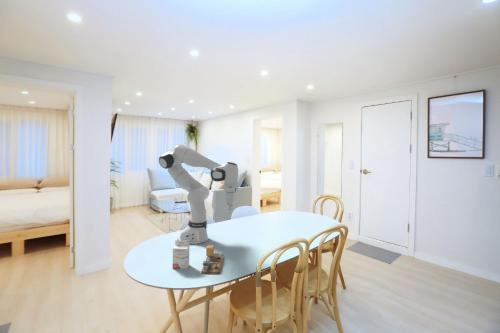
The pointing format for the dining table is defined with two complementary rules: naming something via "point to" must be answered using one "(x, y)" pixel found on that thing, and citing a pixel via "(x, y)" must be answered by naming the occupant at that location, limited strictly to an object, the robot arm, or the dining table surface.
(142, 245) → the dining table surface
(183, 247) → the ink cartridge box
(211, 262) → the board
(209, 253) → the slider
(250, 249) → the dining table surface
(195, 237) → the robot arm
